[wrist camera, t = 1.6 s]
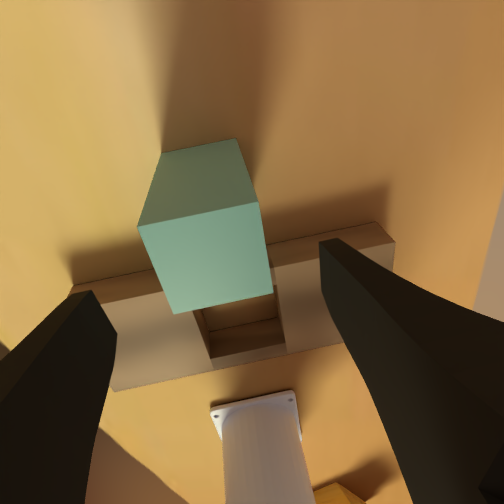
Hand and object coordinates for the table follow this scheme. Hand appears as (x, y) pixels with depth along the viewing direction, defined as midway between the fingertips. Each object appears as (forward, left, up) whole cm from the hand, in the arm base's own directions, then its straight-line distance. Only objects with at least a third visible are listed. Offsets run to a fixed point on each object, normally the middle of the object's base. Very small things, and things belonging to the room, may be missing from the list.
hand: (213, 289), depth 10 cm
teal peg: (0, 0, -10) cm, 10 cm away
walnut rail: (-9, 0, -9) cm, 13 cm away
